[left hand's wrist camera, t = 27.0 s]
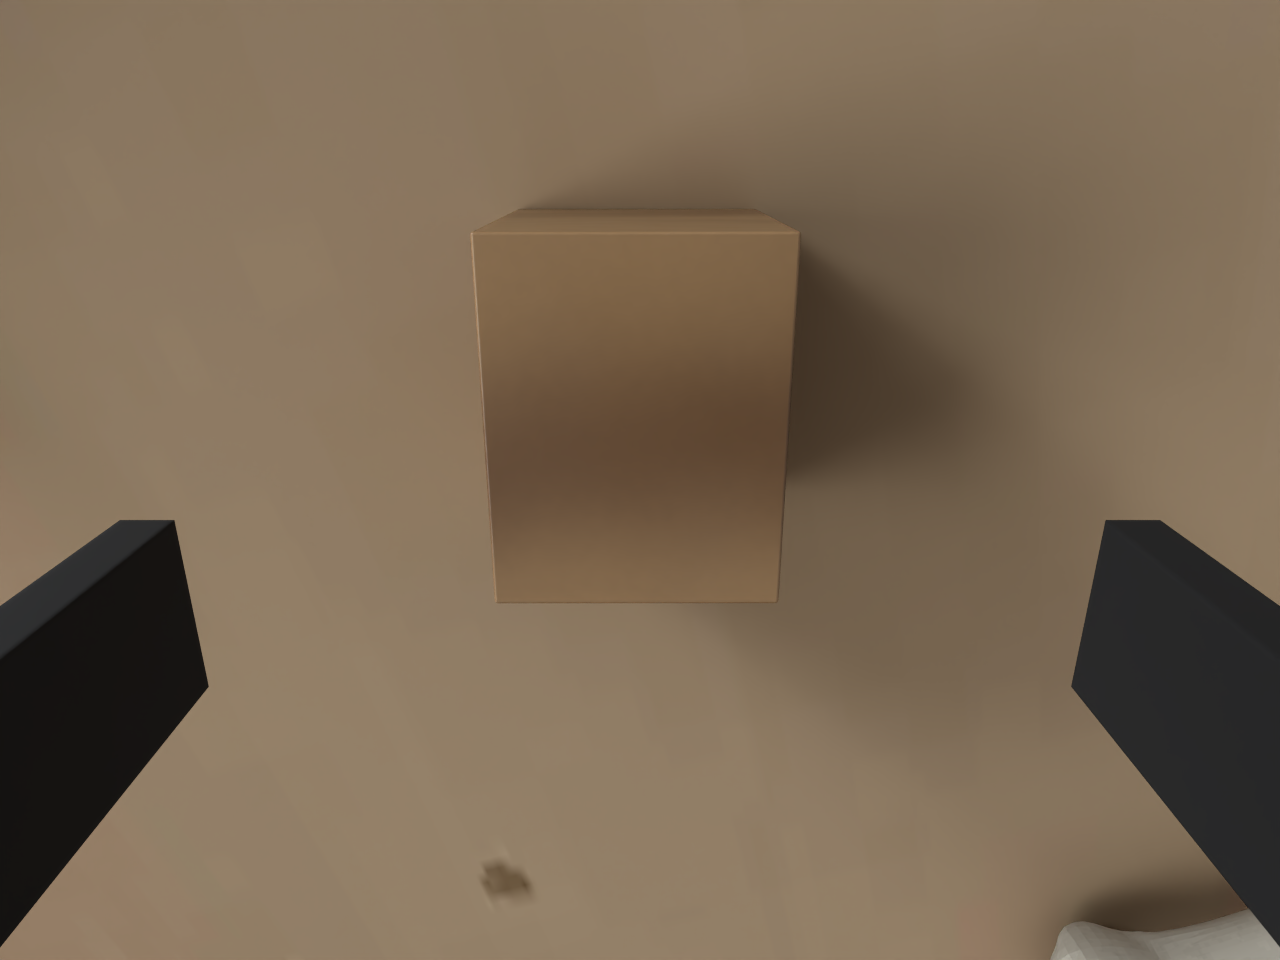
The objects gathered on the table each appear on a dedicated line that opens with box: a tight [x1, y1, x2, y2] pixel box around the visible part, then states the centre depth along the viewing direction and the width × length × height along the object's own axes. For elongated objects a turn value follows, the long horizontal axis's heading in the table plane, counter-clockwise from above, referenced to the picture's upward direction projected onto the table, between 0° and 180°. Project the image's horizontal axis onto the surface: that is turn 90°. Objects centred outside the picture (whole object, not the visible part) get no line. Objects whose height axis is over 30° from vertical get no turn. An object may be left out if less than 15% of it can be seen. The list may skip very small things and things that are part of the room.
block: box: [470, 209, 801, 603], centre depth 24 cm, size 9×7×8 cm
